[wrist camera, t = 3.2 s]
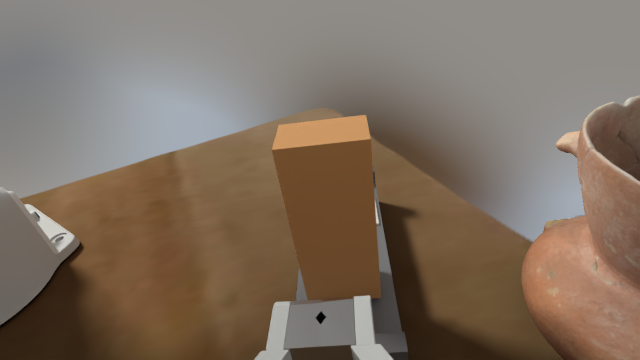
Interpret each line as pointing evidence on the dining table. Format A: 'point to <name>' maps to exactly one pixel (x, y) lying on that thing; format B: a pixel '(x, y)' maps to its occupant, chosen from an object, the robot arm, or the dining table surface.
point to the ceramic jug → (593, 246)
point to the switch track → (380, 299)
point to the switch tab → (330, 205)
